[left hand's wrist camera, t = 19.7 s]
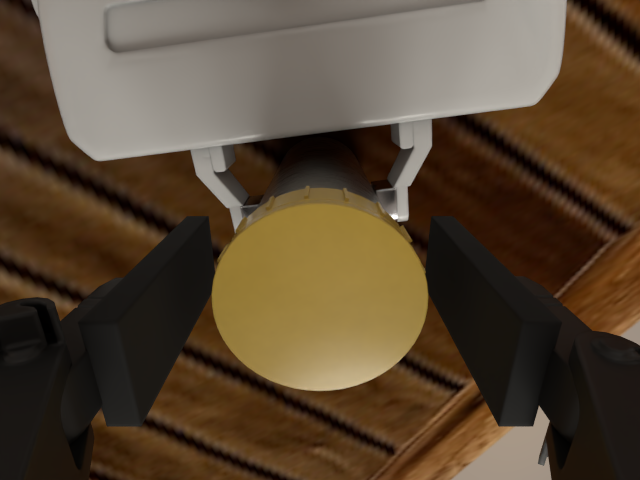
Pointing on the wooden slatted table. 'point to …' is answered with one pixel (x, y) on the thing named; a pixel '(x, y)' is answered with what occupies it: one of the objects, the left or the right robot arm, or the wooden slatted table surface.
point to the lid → (319, 290)
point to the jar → (319, 170)
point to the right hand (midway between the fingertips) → (323, 227)
